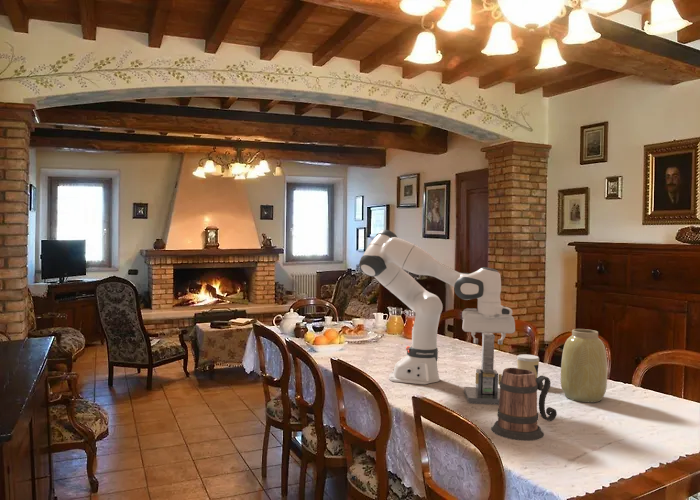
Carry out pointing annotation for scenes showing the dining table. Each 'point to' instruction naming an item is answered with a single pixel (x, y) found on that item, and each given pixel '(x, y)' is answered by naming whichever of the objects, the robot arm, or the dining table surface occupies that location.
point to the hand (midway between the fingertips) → (488, 343)
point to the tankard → (521, 405)
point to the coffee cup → (528, 363)
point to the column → (487, 362)
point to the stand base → (477, 396)
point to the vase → (584, 366)
